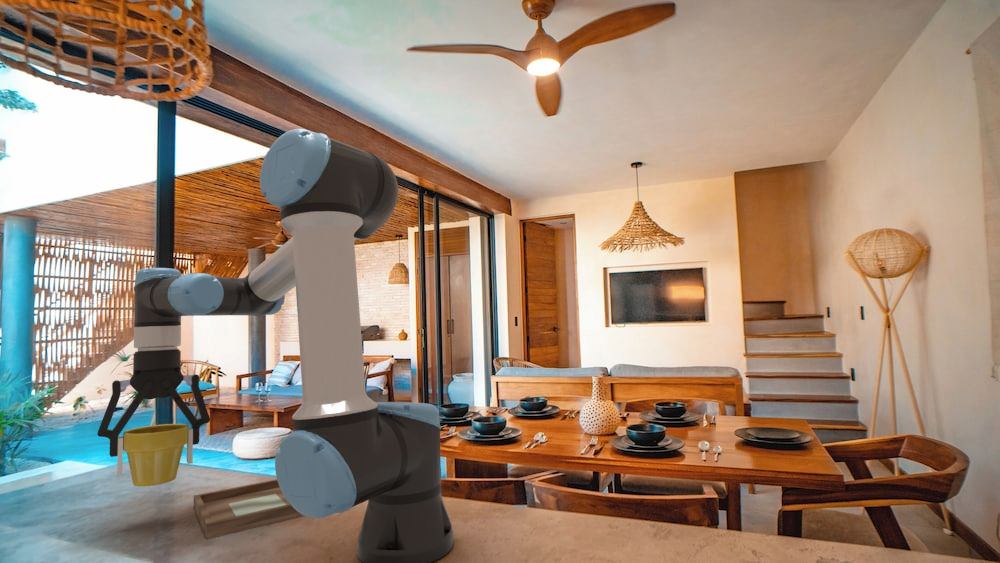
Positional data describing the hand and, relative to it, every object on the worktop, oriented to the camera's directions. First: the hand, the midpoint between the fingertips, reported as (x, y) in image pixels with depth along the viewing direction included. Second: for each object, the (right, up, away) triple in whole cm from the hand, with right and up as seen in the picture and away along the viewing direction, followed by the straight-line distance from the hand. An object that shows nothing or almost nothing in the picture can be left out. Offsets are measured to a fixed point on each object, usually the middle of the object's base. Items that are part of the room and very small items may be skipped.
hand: (155, 468), depth 96 cm
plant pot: (0, -3, 0) cm, 3 cm away
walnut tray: (+16, -10, +6) cm, 20 cm away
